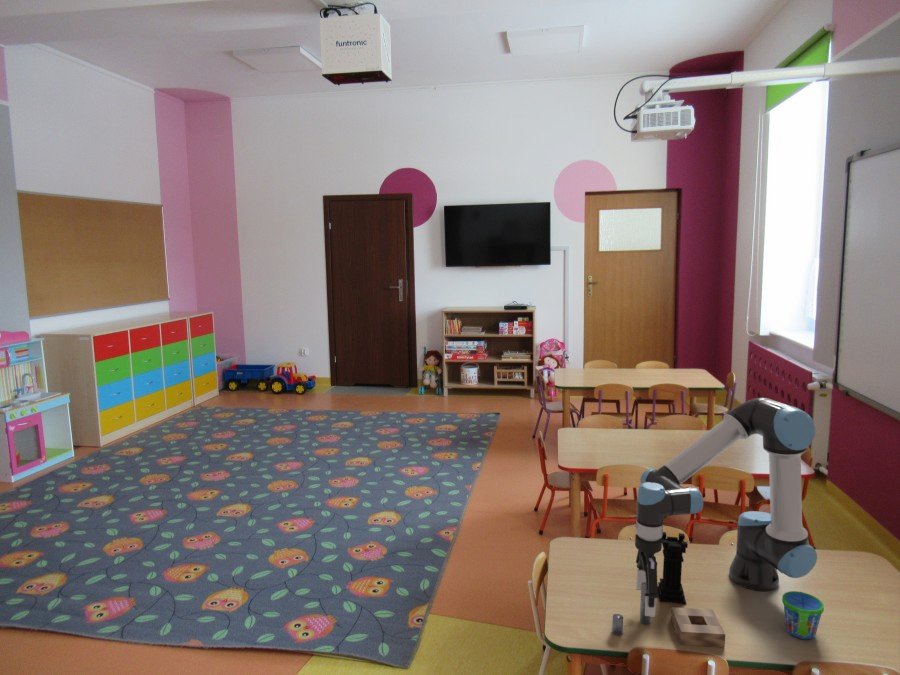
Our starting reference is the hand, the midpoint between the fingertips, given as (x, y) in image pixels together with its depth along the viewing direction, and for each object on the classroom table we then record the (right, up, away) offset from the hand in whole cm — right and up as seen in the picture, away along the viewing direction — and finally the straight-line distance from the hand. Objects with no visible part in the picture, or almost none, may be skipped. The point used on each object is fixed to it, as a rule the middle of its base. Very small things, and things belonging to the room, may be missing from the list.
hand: (645, 602), depth 189 cm
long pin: (0, -6, +1) cm, 6 cm away
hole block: (+14, -7, -4) cm, 16 cm away
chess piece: (+13, -4, +15) cm, 20 cm away
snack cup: (+44, -7, -5) cm, 45 cm away
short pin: (-9, -7, -4) cm, 12 cm away
